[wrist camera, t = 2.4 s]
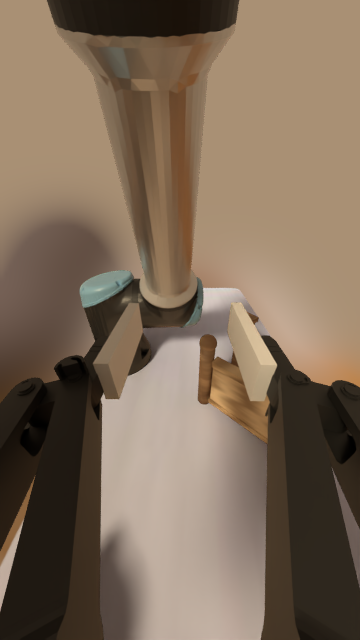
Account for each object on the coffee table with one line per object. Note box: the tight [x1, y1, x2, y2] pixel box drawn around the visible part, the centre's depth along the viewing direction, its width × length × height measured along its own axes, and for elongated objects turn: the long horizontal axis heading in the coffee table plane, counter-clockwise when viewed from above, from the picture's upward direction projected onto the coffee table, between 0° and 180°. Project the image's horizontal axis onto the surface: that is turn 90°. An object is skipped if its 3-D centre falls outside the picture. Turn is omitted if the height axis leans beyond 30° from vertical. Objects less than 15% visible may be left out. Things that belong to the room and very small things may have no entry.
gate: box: [208, 357, 270, 443], centre depth 31 cm, size 14×2×11 cm, turn 48°
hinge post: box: [198, 334, 217, 404], centre depth 35 cm, size 3×3×17 cm
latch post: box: [231, 312, 259, 368], centre depth 44 cm, size 3×3×15 cm
